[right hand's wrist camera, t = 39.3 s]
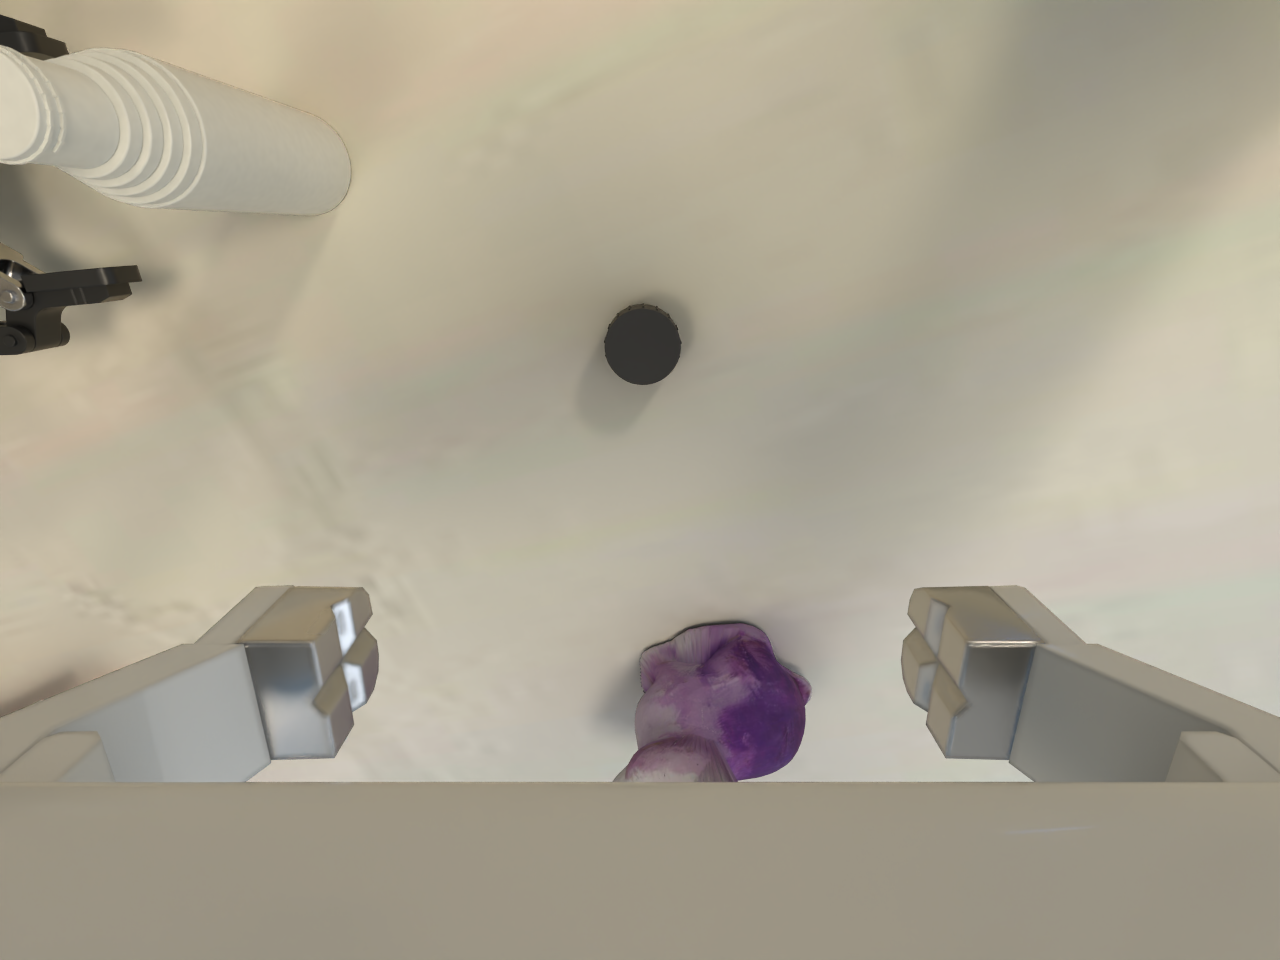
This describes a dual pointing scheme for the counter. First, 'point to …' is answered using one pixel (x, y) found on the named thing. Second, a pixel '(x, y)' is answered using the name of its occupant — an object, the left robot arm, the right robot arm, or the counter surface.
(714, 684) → the figurine
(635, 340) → the cap
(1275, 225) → the counter surface
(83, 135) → the bottle
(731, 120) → the counter surface
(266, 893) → the right robot arm
